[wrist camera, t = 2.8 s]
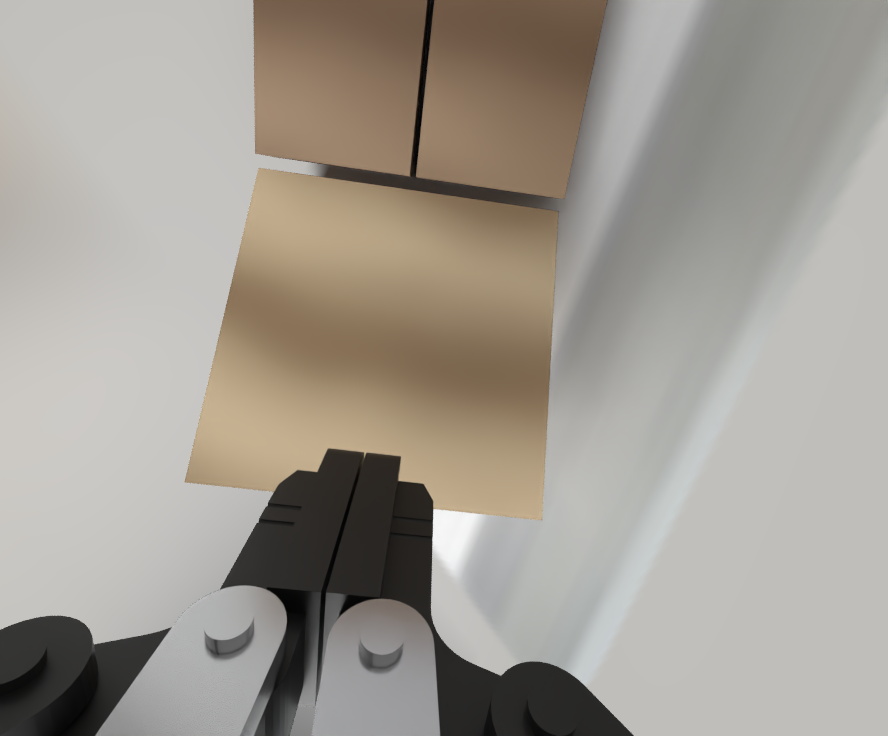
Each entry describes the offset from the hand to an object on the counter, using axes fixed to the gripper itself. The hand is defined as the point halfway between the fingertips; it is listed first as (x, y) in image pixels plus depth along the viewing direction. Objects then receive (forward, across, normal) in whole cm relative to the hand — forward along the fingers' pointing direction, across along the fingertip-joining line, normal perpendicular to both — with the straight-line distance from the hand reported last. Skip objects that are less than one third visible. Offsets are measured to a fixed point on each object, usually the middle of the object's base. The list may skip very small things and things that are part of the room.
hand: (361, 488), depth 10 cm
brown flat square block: (+9, 0, -11) cm, 14 cm away
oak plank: (+6, 0, -1) cm, 6 cm away
